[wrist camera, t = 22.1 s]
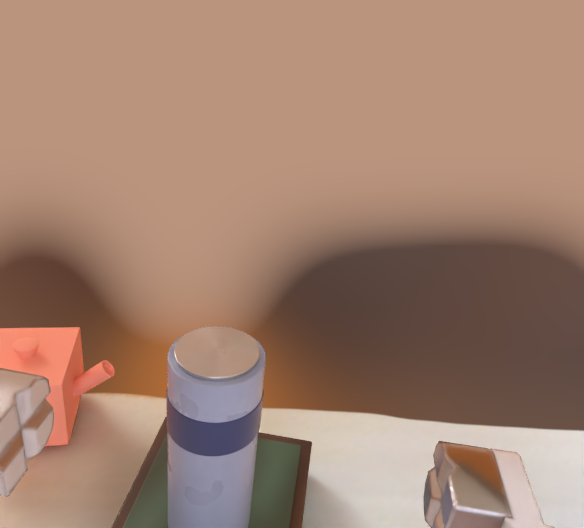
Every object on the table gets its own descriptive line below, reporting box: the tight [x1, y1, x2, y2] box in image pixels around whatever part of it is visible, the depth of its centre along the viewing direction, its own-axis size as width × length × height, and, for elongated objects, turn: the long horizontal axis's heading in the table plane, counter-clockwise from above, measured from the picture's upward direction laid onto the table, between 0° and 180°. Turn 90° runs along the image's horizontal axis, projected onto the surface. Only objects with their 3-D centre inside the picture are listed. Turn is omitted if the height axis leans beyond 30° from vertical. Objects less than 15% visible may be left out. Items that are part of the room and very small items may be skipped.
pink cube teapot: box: [0, 327, 115, 446], centre depth 43 cm, size 8×12×8 cm, turn 100°
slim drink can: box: [167, 326, 266, 528], centre depth 31 cm, size 5×5×14 cm
